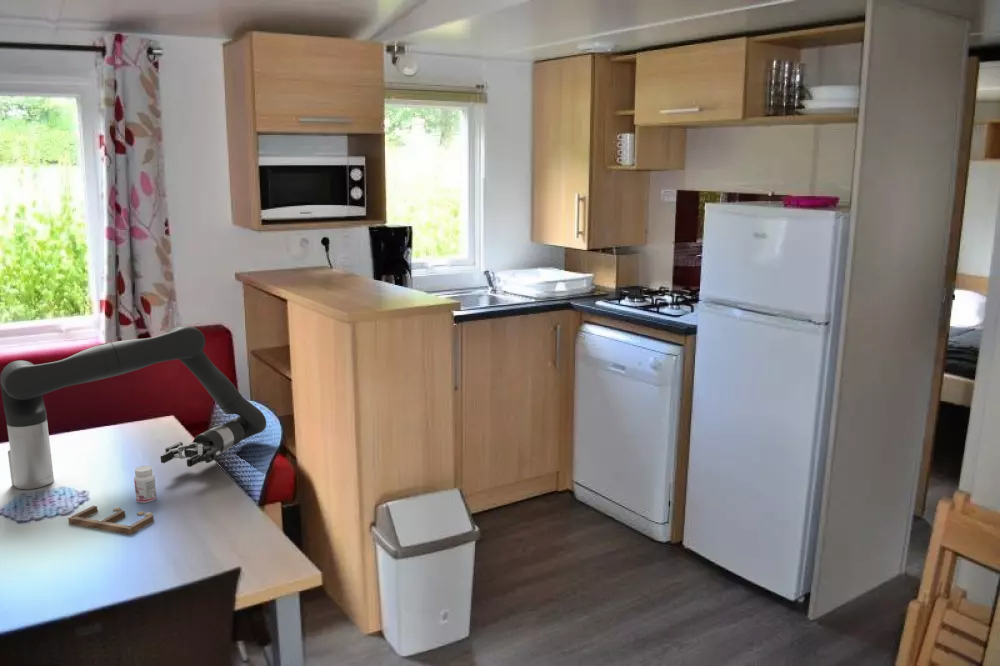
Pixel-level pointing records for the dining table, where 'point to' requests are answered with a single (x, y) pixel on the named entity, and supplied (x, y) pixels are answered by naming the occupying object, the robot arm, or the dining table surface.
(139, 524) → the slot rack
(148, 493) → the pill bottle
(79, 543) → the dining table surface
